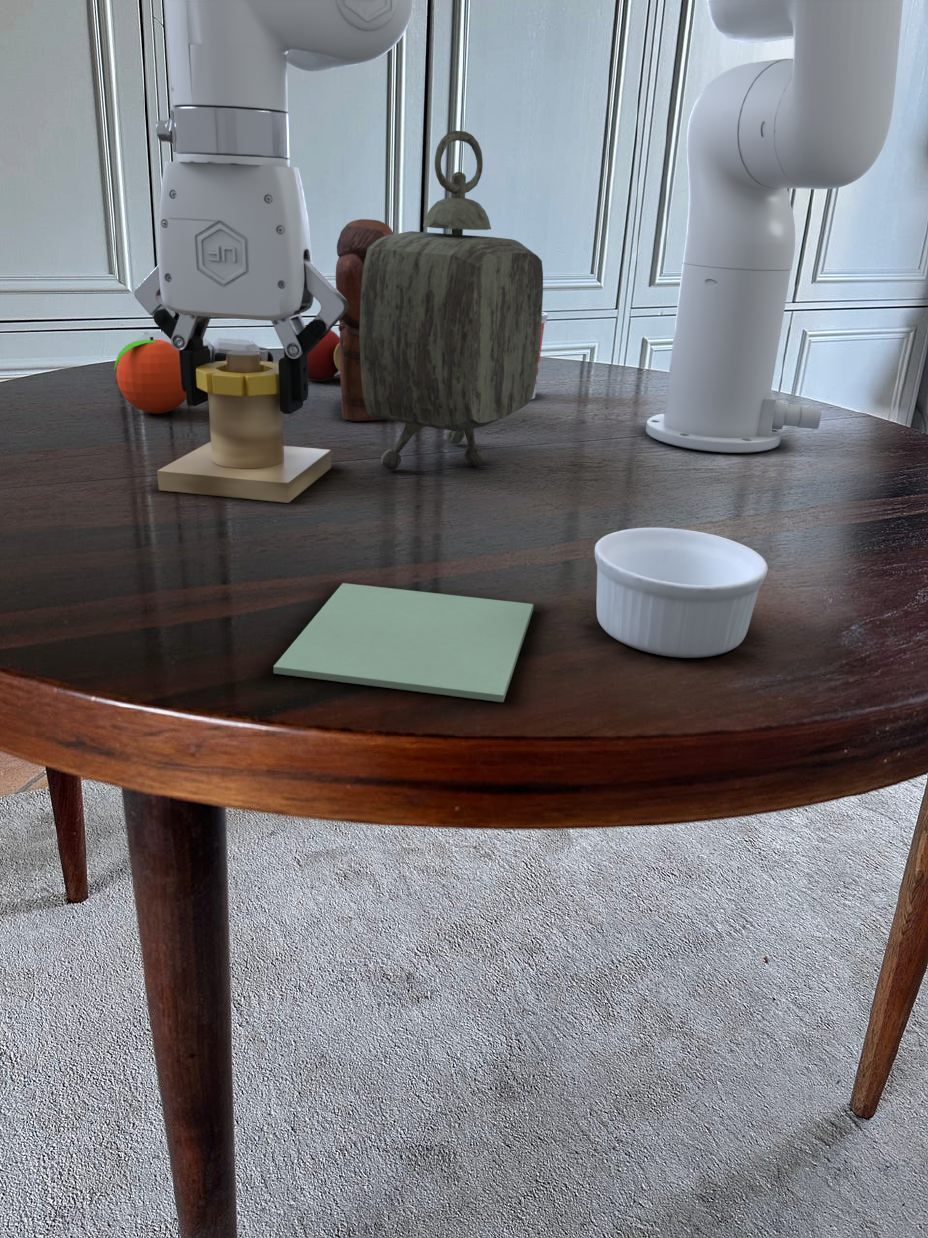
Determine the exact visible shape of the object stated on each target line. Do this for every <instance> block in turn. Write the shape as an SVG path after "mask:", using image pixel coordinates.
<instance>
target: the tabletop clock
mask: <svg viewBox="0 0 928 1238" xmlns="http://www.w3.org/2000/svg"><path fill="white" fill-rule="evenodd" d="M457 141H458V142H464V143H466V144H468V145H469V146H470V147H471V150H472V151H473V153H474V156H475V160H476V171H475V174H474V175H473V177H472V178H471V179H470V180H469V181H467V176H466V174H465V173H464V172H462V171H456V172H453V174H452V176H451V181H450V180H449V179H447V178H446V176H445V175H444V173H443V172H442V170H443V169H442V157H443V155H444V153H445V150H446V149H447V148H448V145H449V144H451V143H452V142H457ZM483 160H484V159H483V151H482V149H481V147H480V143H479V142H478V140H477V139H476V138H475V136H474V135H472V134H471V133H469V132H468V131H463V130H453V131H449V132H447V133H446V134H445V135H444V136H443V137H442V138H441V139H440V141H439V143H438V145H437V146H436V151H435V155H434V171H435V176H436V179H437V181H438V184H439V185H440V186H441V187H442V188H443V189H444V190H445V191H447V192H448V193H451V197H446V198H442V199H439V200H437V201H436V202H435V203H434V204H433V205H432V206H431V207H430V209H429V210H428V212H427V213H426V216H425V218H424V222H423V225H422V227H423V228H424V227H425V228H431V229H442V230H443V229H445V230H450V231H451V232H450V233H441V232H430V231H429V232H426V231H414V230H413V231H412V230H410V231H404V232H399V233H394V234H393V235H388V236H384V237H382V238H380V239H378V240H376V241H375V242H374V243H373V244H372V245H371V246H370V247H368V249H367V254H366V258H365V263H364V267H363V275H362V285H361V301H360V326H359V344H360V367H361V382H362V391H363V399H364V402H365V406H366V410H367V414H369V415H371V416H373V417H375V418H380V419H381V420H387V421H392V422H398V423H404V428H403V431H402V433H401V434H400V436H399V438H398V441H397V443H396V444H395V446H394V448H393V449H392V448H389V449H386V450H384V452H383V454H382V455H381V457H380V462H381V464H382V466H383V467H384V468H385V469H387V470H388V471H389V470H396V469H397V468H399V466H400V465H401V462H402V456H401V454H400V453H401V452H402V450H403V449H404V447H405V446H406V445H407V444H408V442H409V441H410V440H411V439H412V437H413V436H415V434H416V433H417V432H419V431H420V430H422V429H423V428H425V427H429V428H433V429H440V430H446V432H445V437H446V440H447V441H448V442H449V443H450V444H453V445H457V444H460V443H461V442H462V441H463V439H464V437H465V438H466V442H467V445H468V448H467V449H466V450H465V452H464V455H463V459H464V461H465V463H466V464H467V465H468V466H470V467H478V466H480V465H481V464H482V463H483V460H484V452H483V451H482V449H481V448H479V447H478V446H476V439H475V431H474V430H475V429H478V428H482V427H485V426H488V425H490V424H492V423H495V422H497V421H500V420H501V419H504V418H506V417H508V416H510V415H512V414H514V413H516V412H518V411H520V410H521V409H523V408H525V407H526V406H527V405H528V404H529V403H530V401H531V400H532V399H531V398H532V397H533V392H534V388H535V383H536V376H537V369H538V358H539V347H540V336H541V322H542V312H543V300H544V299H543V298H544V271H543V270H544V269H543V261H542V259H541V258H540V257H539V255H537V254H536V253H534V252H533V251H532V250H531V249H530V248H528V247H527V246H525V245H524V244H523V243H521V242H520V241H518V240H515V239H513V238H504V237H494V236H483V235H468V234H464V230H467V231H489V230H492V225H491V222H490V218H489V216H488V214H487V212H486V209H484V207H483V206H482V205H481V204H480V203H479V202H478V201H476V200H473V199H470V198H467V197H466V194H467V193H469V192H471V191H472V190H473V189H475V188H476V187H477V186H478V184H479V181H480V179H481V177H482V173H483V168H484V167H483V165H484V163H483Z"/></svg>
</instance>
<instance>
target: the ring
mask: <svg viewBox="0 0 928 1238" xmlns="http://www.w3.org/2000/svg"><path fill="white" fill-rule="evenodd" d="M278 363H279V362H274V361H273V362H265V361H260V368H261V372H255V373H234V372H227V361H219V362H214V363H207V364H204V365H201V366H199V367H197V368H196V380H197V388H199V389H201V390H203V391H205V392H207V393H213V394H219V395H231V396H242V395H244V394H246V395H248V396H259V395H270V394H276V393H279V366H278Z"/></svg>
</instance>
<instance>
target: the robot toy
mask: <svg viewBox="0 0 928 1238" xmlns="http://www.w3.org/2000/svg"><path fill="white" fill-rule="evenodd" d="M150 337H153V340H163V341H167V342H169V343H171V340H170V338H169V337H168V336H167V335H166V334H165V333H164V332H163V331H154V332H151V331H150V332H148V331H146V332H145V331H144V332H143V334H142V335H141V336H140V337H139V338H138V339H136V341H140V340H148V339H150ZM203 345H205V346H208V348H209V349H210V356H211V363H214V362H219V361H227V356H226V354H227V352H230V351H237V350H248V351H256V352H259V353H260V361H265V362H273V363H274V355H273V354H272V353H271V352H270V350H268V348H267V347H265V346H258V345H257V344H256V343H255V342H254V341H253V340H250V339H249V340H248V339H241V338H227V337H226V338H223V337H219V338H217V339H216V340H215V341H214V342H213V344H212V343H211V342H210V341H209V339H207V338H205V336H204V337H203Z"/></svg>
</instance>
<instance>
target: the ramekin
mask: <svg viewBox="0 0 928 1238" xmlns="http://www.w3.org/2000/svg"><path fill="white" fill-rule="evenodd" d="M594 558H595V564H596V599H595V601H596V618H597V621H598V623H599V626H601V628H602V629H603V631H605V632H606V633H607V634H608V635H609V636H610V637H612V638H613V639H614V640H616V641H618V642H619V643H621V644H624V645H625V646H628V647H630V648H633V649H635V650H639V651H642V652H646V653H648V654H649V653H650V654H653V655H657V656H663V657H669V658H680V659H681V658H682V659H683V658H684V659H698V658H709V657H715V656H718V655H719V656H720V655H722V654H726V653H728V652H730V651H731V650H734V649H735V648H737V647H739V646H740V644H742V643H743V641H744V639H745V638H746V635H747V633H748V631H749V627H750V624H751V620H752V616H753V613H754V609H755V605H756V602H757V598H758V594H759V591H760V588H761V586H762V585H763V584H764V582H765V579H766V576H767V573H768V569H769V568H768V567H769V566H768V564H767V562H766V559H765V558H764V557H763V556H762V555H760V553H758V552H757V551H755V550H754V549H752V548H750V547H748V546H746V545H745V544H742V543H740V542H737V541H735V540H732V539H729V538H726V537H723V536H720V535H716V534H711V533H707V532H702V531H696V530H689V529H683V528H682V529H681V528H672V527H636V528H628V529H621V530H619V531H615V532H612V533H611V532H610V533H609V534H606V535H604V536H602V537H601V538H600V539H599V540H598V541H597V542H596V543H595V545H594Z"/></svg>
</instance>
